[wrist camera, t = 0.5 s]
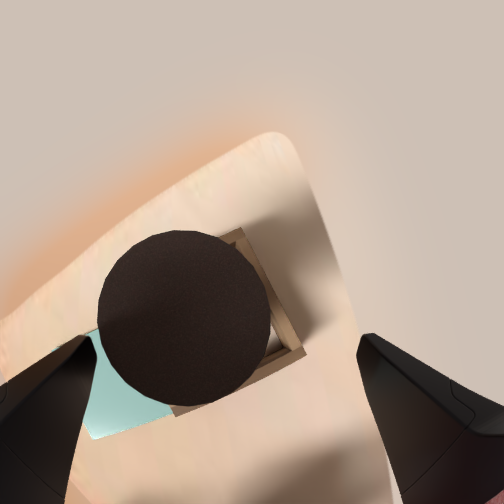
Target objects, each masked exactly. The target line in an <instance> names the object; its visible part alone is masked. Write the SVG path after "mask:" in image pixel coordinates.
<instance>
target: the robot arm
mask: <svg viewBox="0 0 504 504" xmlns="http://www.w3.org/2000/svg"><path fill="white" fill-rule="evenodd" d="M356 358H357V363H358V366H359V370H360V374H361V378H362V382H363V386H364V390H365V393H366V396H367V399H368V402H369V405H370V407H371V410H372V413H373V415H374V418H375V421H376V424H377V426H378V429H379V432H380V435H381V438H382V440H383V443H384V446H385V449H386V452H387V455H388V458H389V461H390V464H391V467H392V470H393V473H394V475H395V479H396V482H397V485H398V488H399V491H400V494H401V498H402V501H403V504H504V406H502V405H500V404H498V403H496V402H494V401H492V400H489V399H487V398H485V397H483V396H481V395H479V394H477V393H475V392H473V391H471V390H469V389H467V388H465V387H463V386H462V385H460V384H458V383H457V382H455V381H453V380H452V379H449V378H448V377H446V376H445V375H443V374H441V373H440V372H438V371H436V370H435V369H433V368H431V367H430V366H428V365H426V364H425V363H423V362H421V361H420V360H418V359H416V358H415V357H413V356H411V355H410V354H408V353H406V352H405V351H403V350H401V349H400V348H398V347H396V346H395V345H393V344H391V343H390V342H388V341H386V340H385V339H383V338H381V337H380V336H378V335H376V334H375V333H369V334H363V335H362V337H361V339H360V343H359V346H358V350H357V353H356ZM96 364H97V353H96V350H95V347H94V345H93V342H92V339H91V337H90V336H88V335H78V336H76V337H75V338H73V339H72V340H70V341H68V342H67V343H65V344H64V345H62V346H61V347H59V348H58V349H56V350H54V351H53V352H51V353H50V354H48V355H47V356H45V357H44V358H42V359H41V360H39V361H38V362H36V363H34V364H33V365H31V366H30V367H28V368H27V369H25V370H24V371H22V372H21V373H19V374H18V375H16V376H15V377H13V378H12V379H10V380H9V381H8V382H6V383H4V384H3V385H1V386H0V504H64V502H65V500H64V499H65V494H66V490H67V485H68V480H69V475H70V470H71V465H72V461H73V457H74V453H75V448H76V444H77V441H78V437H79V433H80V429H81V426H82V422H83V418H84V415H85V411H86V408H87V405H88V401H89V398H90V393H91V388H92V383H93V378H94V373H95V369H96Z"/></svg>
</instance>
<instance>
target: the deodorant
mask: <svg viewBox="0 0 504 504" xmlns="http://www.w3.org/2000/svg"><path fill="white" fill-rule="evenodd" d="M270 319H271V309H270V305H269V301H268V297H267V294H266V290H265V286H264V284H263V283H262V281H261V279H260V277H259V275H258V274H257V272H256V270H255V268H254V266H253V265H252V264H251V263H250V262H249V261H248V260H247V259H246V258H245V257H244V256H243V255H242V254H241V253H240V252H239V251H238V250H237V249H236V248H234V247H233V246H231V245H229V244H228V243H226V242H224V241H223V240H221V239H219V238H218V237H215V236H211V235H208V234H205V233H201V232H198V231H180V230H173V231H169V232H165V233H160V234H156V235H152V236H150V237H148V238H147V239H145V240H143V241H141V242H139V243H137V244H135V245H134V246H132V247H131V248H130V249H129V250H128V251H127V252H126V253H125V254H124V255H123V256H122V257H120V258H119V259H118V260H117V262H116V263H115V265H114V266H113V268H112V269H111V271H110V272H109V274H108V276H107V277H106V279H105V282H104V285H103V288H102V291H101V294H100V297H99V301H98V317H97V324H98V330H99V335H100V340H101V345H102V347H103V349H104V351H105V354H106V356H107V358H108V360H109V362H110V364H111V366H112V367H113V368H114V369H115V371H116V372H117V373H118V374H119V376H120V377H121V378H122V379H123V380H124V381H125V383H127V384H128V385H129V386H131V387H132V388H133V389H135V390H136V391H138V392H139V393H141V394H142V395H143V396H145V397H148V398H150V399H153V400H155V401H158V402H161V403H163V404H166V405H176V406H187V407H190V406H197V405H202V404H207V403H212V402H214V401H217V400H219V399H221V398H223V397H225V396H227V395H229V394H231V393H233V392H234V391H235V390H237V389H238V388H239V387H240V386H241V385H242V384H243V383H244V382H245V381H247V380H248V379H249V378H250V377H251V376H252V374H253V373H254V371H255V369H256V368H257V366H258V365H259V363H260V361H261V360H262V358H263V357H264V353H265V350H266V347H267V343H268V340H269V336H270Z"/></svg>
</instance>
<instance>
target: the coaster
mask: <svg viewBox="0 0 504 504" xmlns="http://www.w3.org/2000/svg"><path fill="white" fill-rule="evenodd" d="M86 335H88V336H90V337H91V339H92V342H93V345H94V347H95V350H96V353H97V364H96V369H95V373H94V378H93V383H92V388H91V393H90V398H89V401H88V405H87V408H86V411H85V415H84V418H83V423H84V425H85V426H86V428H87V430H88V432H89V434H90V435H91V437H92V439H93V440H95V439H98V438H102V437H105V436H108V435H112V434H115V433H118V432H121V431H124V430H128V429H131V428H134V427H137V426H139V425H142V424H145V423H148V422H151V421H154V420H156V419H159V418H162V417H164V416H167V415H170V414H172V413H173V412H172V410H171V408H170V407H169V405H166V404H163V403H161V402H158V401H155V400H153V399H150V398H148V397H145V396H143V395H142V394H141V393H139V392H138V391H136V390H135V389H133V388H132V387H131V386H129V385H128V384H127V383H125V381H124V380H123V379H122V378H121V377H120V376H119V374H118V373H117V372H116V371H115V369H114V368H113V367H112V366H111V364H110V362H109V360H108V358H107V356H106V354H105V351H104V349H103V347H102V345H101V340H100V335H99V330H98V329H97V330H94V331H92V332H90V333H88V334H86ZM60 347H61V346H60ZM58 348H59V347H58ZM58 348H56V349H58ZM56 349H54V350H56ZM54 350H52V352H53V351H54Z"/></svg>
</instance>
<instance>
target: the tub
mask: <svg viewBox="0 0 504 504" xmlns="http://www.w3.org/2000/svg"><path fill="white" fill-rule="evenodd" d="M218 238H219V239H221V240H223V241H224V242H226V243H228V244H229V245H231V246H233V247H234V248H236V249H237V250H238V251H239V252H240V253H241V254H242V255H243V256H244V257H245V258H246V259H247V260H248V261H249V262H250V263H251V264H252V265H253V266H254V268H255V270H256V272H257V274H258V275H259V277H260V279H261V281H262V283H263V284H264V286H265V290H266V294H267V297H268V301H269V305H270V309H271V319H270V322H271V324H272V326H273V328H274V330H275V332H276V334H277V336H278V338H279V340H280V342H281V343H282V345H283V347H284V348H283V349H281V350H279V351H277V352H275V353H273V354H271V355H269V356H267V357H265V358H263V359H262V360H261V361H260V363H259V365H258V366H257V368H256V369H255V371H254V373H253V374H252V376H251V377H250V378H249V379H248V380H247V381H245V382H244V383H243V384H242V385H241V386H240V387H239V388H238V389H237V390H235V391H234V392H236V391H238V390H240V389H242V388H244V387H247V386H249V385H251V384H253V383H255V382H257V381H259V380H261V379H263V378H265V377H267V376H269V375H271V374H273V373H275V372H277V371H278V370H280V369H282V368H284V367H286V366H288V365H290V364H292V363H293V362H295V361H297V360H299V359H301V358H303V357H304V356H306V355H307V354H306V352H305V350H304V348H303V346H302V344H301V342H300V340H299V339H298V337H297V335H296V333H295V331H294V329H293V327H292V325H291V323H290V321H289V319H288V317H287V315H286V313H285V311H284V309H283V308H282V306H281V304H280V302H279V300H278V298H277V296H276V294H275V292H274V290H273V288H272V286H271V284H270V282H269V280H268V279H267V277H266V275H265V273H264V271H263V269H262V267H261V265H260V263H259V261H258V259H257V257H256V255H255V253H254V252H253V250H252V248H251V246H250V244H249V242H248V240H247V238H246V236H245V234H244V232H243V230H242V228H241V227H240V228H238V229H236V230H234V231H232V232H229V233H227V234H225V235H223V236H221V237H218ZM234 392H233V393H234ZM231 394H232V393H231ZM207 404H209V403H207ZM207 404H202V405H197V406H190V407H187V406H176V405H169V407H170V408H171V410H172V412H173V414H174V415H175V417H177V416H180V415H182V414H185V413H187V412H190V411H192V410H195V409H197V408H200V407H202V406H204V405H207Z"/></svg>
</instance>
